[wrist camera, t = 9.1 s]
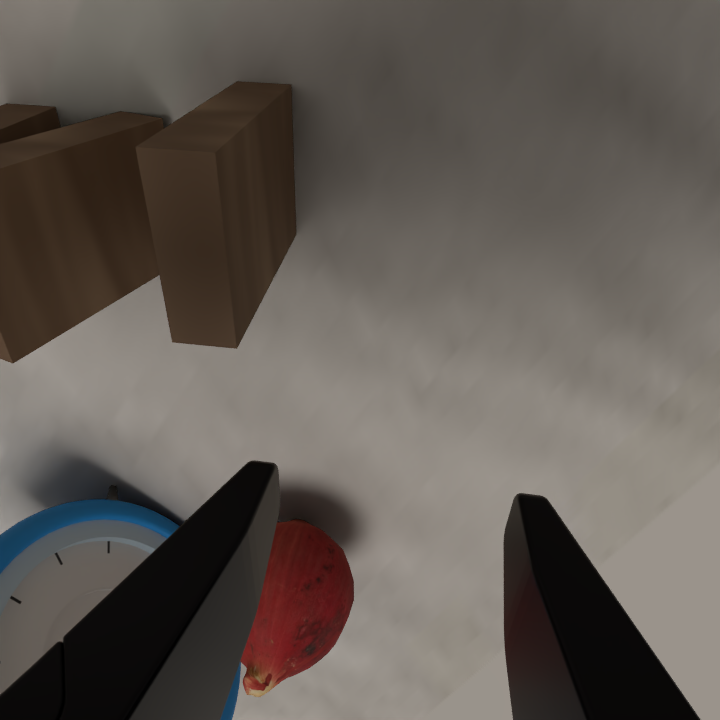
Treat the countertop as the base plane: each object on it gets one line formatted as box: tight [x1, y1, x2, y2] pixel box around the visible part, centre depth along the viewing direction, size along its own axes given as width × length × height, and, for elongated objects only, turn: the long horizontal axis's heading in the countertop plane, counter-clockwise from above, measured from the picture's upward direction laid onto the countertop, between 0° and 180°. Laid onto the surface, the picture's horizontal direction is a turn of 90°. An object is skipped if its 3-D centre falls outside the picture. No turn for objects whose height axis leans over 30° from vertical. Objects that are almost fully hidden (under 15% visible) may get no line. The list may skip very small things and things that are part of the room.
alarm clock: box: [0, 485, 241, 720], centre depth 24 cm, size 13×6×15 cm, turn 42°
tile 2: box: [0, 111, 164, 363], centre depth 16 cm, size 2×5×7 cm, turn 178°
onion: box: [240, 519, 354, 697], centre depth 25 cm, size 6×6×8 cm
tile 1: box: [135, 81, 296, 349], centre depth 15 cm, size 2×5×7 cm, turn 178°
